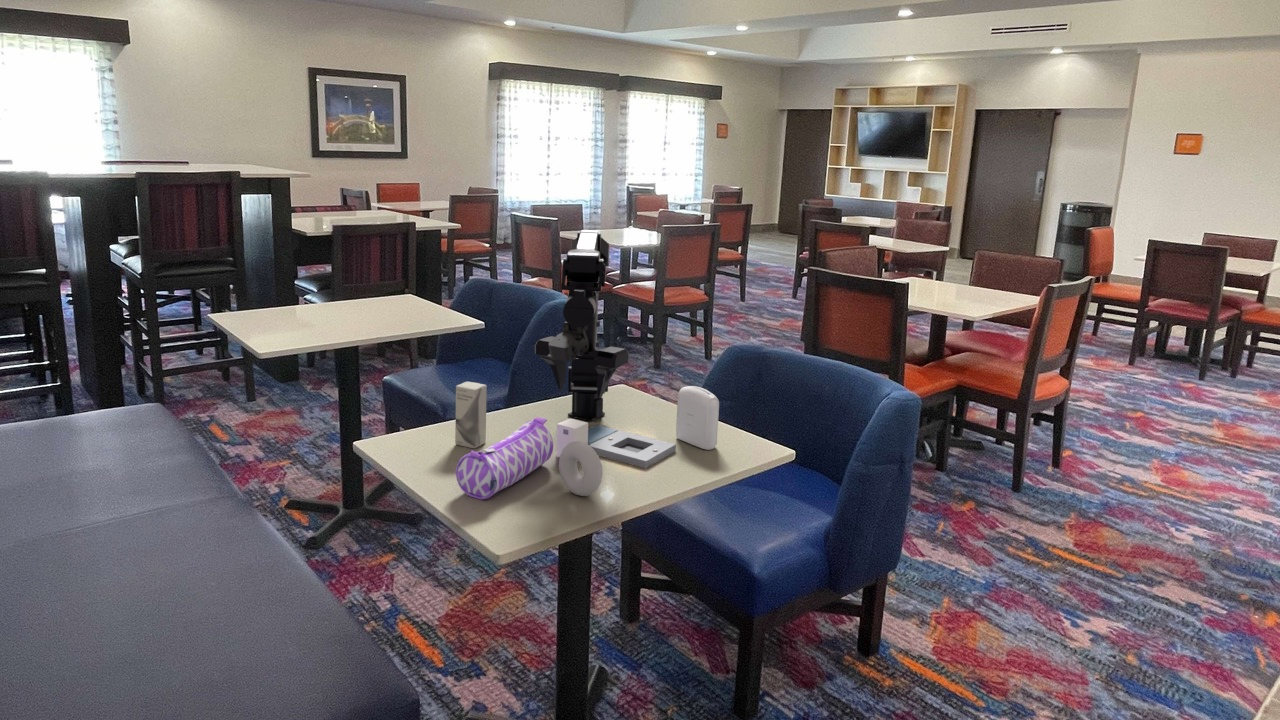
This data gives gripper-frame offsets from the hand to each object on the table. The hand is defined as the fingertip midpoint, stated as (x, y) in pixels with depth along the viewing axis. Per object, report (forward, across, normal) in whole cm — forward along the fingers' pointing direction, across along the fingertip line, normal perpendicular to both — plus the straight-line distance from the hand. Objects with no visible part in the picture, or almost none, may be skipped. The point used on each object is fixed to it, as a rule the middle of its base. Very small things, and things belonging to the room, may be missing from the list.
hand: (580, 393), depth 165 cm
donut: (+14, +11, -16) cm, 24 cm away
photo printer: (+13, +17, +21) cm, 30 cm away
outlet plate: (+13, +8, +8) cm, 17 cm away
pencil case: (+14, -4, -18) cm, 23 cm away
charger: (+13, -1, -1) cm, 13 cm away
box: (+13, -22, -7) cm, 27 cm away
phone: (+13, -3, +11) cm, 17 cm away
